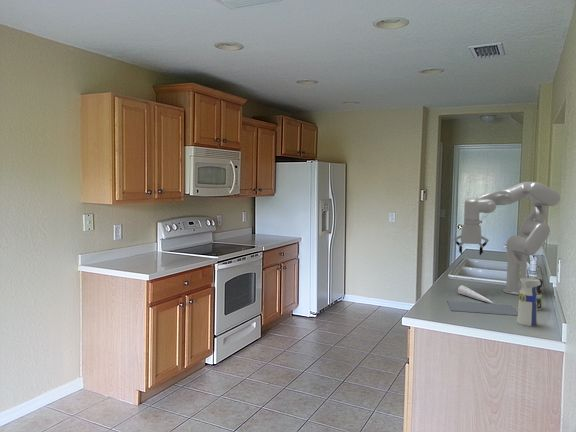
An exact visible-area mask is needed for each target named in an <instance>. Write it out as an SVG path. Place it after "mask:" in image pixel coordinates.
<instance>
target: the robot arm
mask: <svg viewBox="0 0 576 432" xmlns="http://www.w3.org/2000/svg"><path fill="white" fill-rule="evenodd" d="M527 198H529V199H530V204H531V210H530V213H529V214H528V216H527V217H526V218H525V220H524V221H523V222H522V224H521V225H520V228H519V232H520V235H511V236H510V237H508V238H507V241H506V244H505V245H506V252H507V266H506V285H505V287H504V288H503V289H502V291H503V292H504V293H506V294H510V295H518V296H519V278H521V277H527V267H528V266H527V264H528V262H527V256H533V255H535V254H536V253H537V252H538V251H539V250H540V249H541V248H542V246H543V244H544V243H545V242H546V241H547V239H548V238H549V236H550V234H551V233H550V230H551V229H550V226H549V224H548V223H547V222H546V220H547V218H548V215H549V214H548V208H547V207H553V206H556V205H558V204H559V202H560V201H561V195H560V193H559V192H558V191H557V190H556V189H553V188H551V187H549V186H547V185H545V184H544V183H541V182H538V181H522V182H520V183H517V184H515V185H512V186H509V187H507V188H504V189H501V190H498V191H494V192H490V193H486V194H484V195H481V196H479V197H477V198H474V199H466V200H464V212H463V213H464V214H463V215H464V216H463V224H462V226H461V232H460V235H458V236H456V237H454V238H453V240H454V242H455V244H456V245H457V246H458V247H459V248H458V253H459V254H460V255H462V254H463V245H465V244H469V245H472V244H473V245H479V252H478V253H479V256H481V255H482V254H483V253H484V251H483V250H484V247H485V246H486V245H487V244H488V242H489V238H487V237H485V236H483V235H482V228H481V225H480V224H482V223H483V220H480V213H482V214H491V213H494V212H495V210H496V209H497V206H506V205H507V206H508V205H512V204H514V203H516V202H519V201H521V200H523V199H527ZM459 239H460V242H459V241H458V240H459ZM482 240H483V241H484V242H483V243H482ZM520 266H521V269H522V271H521V273H520V272H519V269H518V268H520ZM518 272H519V273H518Z"/></svg>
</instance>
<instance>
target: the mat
mask: <svg viewBox="0 0 576 432" xmlns="http://www.w3.org/2000/svg"><path fill="white" fill-rule="evenodd" d="M447 303H448V306H449V309H450V311H451V312H460V313H461V312H462V313H474V314H488V315H500V316H501V315H502V316H515V317H518V310H516V308H514V307H513V305H511V304H500V303H499V304H497V303H488V302H486V303H485V302H484V303H483V302H470V301H457V300H456V301H455V300H454V301H453V300H447Z"/></svg>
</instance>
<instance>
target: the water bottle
mask: <svg viewBox="0 0 576 432" xmlns="http://www.w3.org/2000/svg"><path fill="white" fill-rule="evenodd" d="M518 269H519V272H520V273H521V271H522V269H521V266H520V268H518ZM519 272H518V273H519ZM535 278H536V277H531V278H520V282H521V290H520V295H518V299H520V300H519V305H517V312H518V316H516V317H517V319H516V322H517V324H519V325H522V326H528V327H530V326H531V327H535V326H537V325H538V321H537V320H538V310H537V302H536V295H537V294H538V293H537V292H536V287H537V286H539V285H541V283H540V281H539V280H538V279H539V278H538V279H535ZM520 282H519V285H520Z"/></svg>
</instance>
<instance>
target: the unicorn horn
mask: <svg viewBox="0 0 576 432" xmlns="http://www.w3.org/2000/svg"><path fill="white" fill-rule="evenodd" d="M457 292H458V293H459V294H460V295H463V296H465V297H469V298H471V299H475V300H478V301H481V302H484V303H485V302H486V303H487V304H494V302H493V301H492V300H491V299H488V298H487V297H485V296H483V295H481V294H480V293H478V292H476V291H474V290H472V289H471V288H469V287H467V286H465V285H464V284H463V285H459V286H458V288H457ZM459 294H458V295H459Z"/></svg>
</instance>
